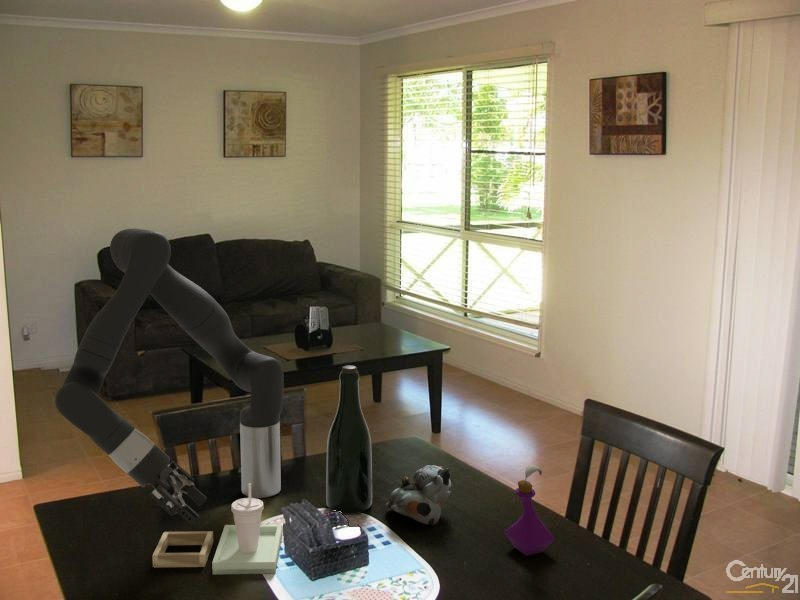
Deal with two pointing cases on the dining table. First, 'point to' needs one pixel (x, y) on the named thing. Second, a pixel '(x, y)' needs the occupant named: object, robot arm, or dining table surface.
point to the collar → (183, 558)
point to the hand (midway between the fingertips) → (200, 511)
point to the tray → (248, 563)
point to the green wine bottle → (349, 451)
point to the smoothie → (247, 522)
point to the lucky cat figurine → (422, 495)
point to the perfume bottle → (529, 521)
